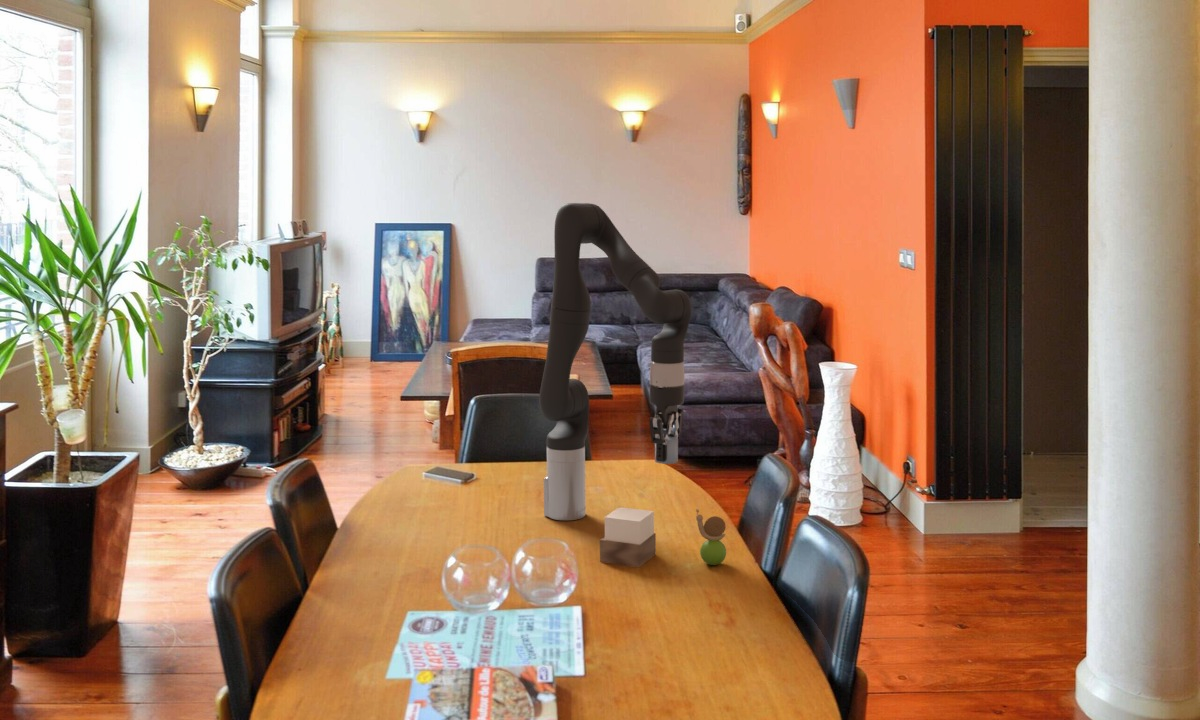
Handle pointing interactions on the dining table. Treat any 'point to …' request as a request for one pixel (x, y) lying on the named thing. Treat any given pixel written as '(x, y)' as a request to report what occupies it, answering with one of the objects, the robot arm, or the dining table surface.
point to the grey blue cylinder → (670, 451)
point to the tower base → (627, 552)
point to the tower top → (629, 525)
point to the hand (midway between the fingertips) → (666, 458)
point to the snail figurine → (712, 539)
